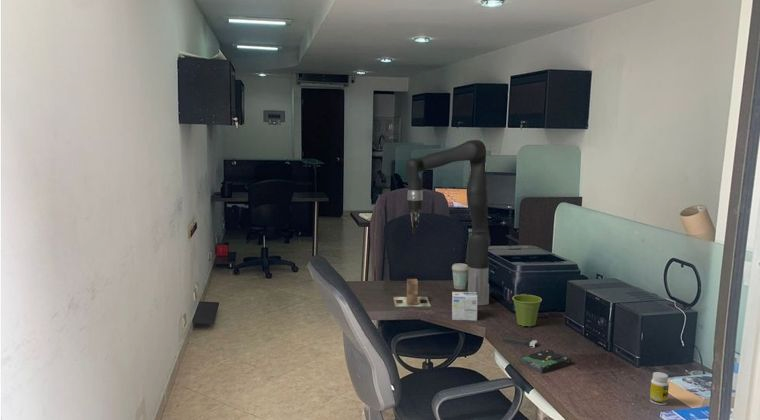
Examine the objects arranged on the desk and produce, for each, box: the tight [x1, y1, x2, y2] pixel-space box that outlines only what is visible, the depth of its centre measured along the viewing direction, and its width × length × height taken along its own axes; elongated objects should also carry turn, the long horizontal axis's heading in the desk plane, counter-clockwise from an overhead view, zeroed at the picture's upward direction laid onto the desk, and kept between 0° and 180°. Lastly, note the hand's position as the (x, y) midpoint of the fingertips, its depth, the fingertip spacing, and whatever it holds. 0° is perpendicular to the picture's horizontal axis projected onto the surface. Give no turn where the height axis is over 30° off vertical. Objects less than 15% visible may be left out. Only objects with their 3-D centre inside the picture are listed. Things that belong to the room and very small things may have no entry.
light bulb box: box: [451, 291, 478, 322], centre depth 245 cm, size 11×7×11 cm, turn 84°
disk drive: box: [518, 349, 572, 374], centre depth 198 cm, size 10×3×15 cm
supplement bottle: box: [649, 371, 670, 406], centre depth 170 cm, size 5×5×8 cm
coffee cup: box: [451, 262, 469, 290], centre depth 293 cm, size 8×9×12 cm
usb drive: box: [502, 333, 538, 348], centre depth 217 cm, size 5×12×3 cm, turn 58°
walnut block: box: [406, 278, 419, 305], centre depth 260 cm, size 4×4×11 cm
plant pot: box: [511, 294, 543, 327], centre depth 237 cm, size 12×12×11 cm
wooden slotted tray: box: [392, 296, 431, 307], centre depth 265 cm, size 16×15×2 cm
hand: (414, 234), depth 283 cm, fingers closed
